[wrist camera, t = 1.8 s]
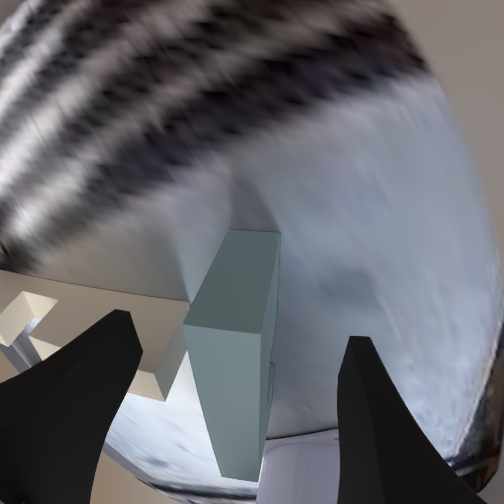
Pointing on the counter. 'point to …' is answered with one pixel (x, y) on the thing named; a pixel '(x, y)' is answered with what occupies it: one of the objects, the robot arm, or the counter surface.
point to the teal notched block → (236, 348)
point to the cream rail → (88, 313)
